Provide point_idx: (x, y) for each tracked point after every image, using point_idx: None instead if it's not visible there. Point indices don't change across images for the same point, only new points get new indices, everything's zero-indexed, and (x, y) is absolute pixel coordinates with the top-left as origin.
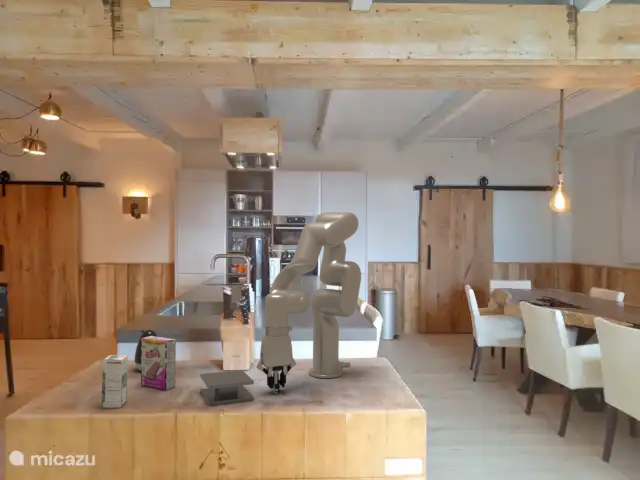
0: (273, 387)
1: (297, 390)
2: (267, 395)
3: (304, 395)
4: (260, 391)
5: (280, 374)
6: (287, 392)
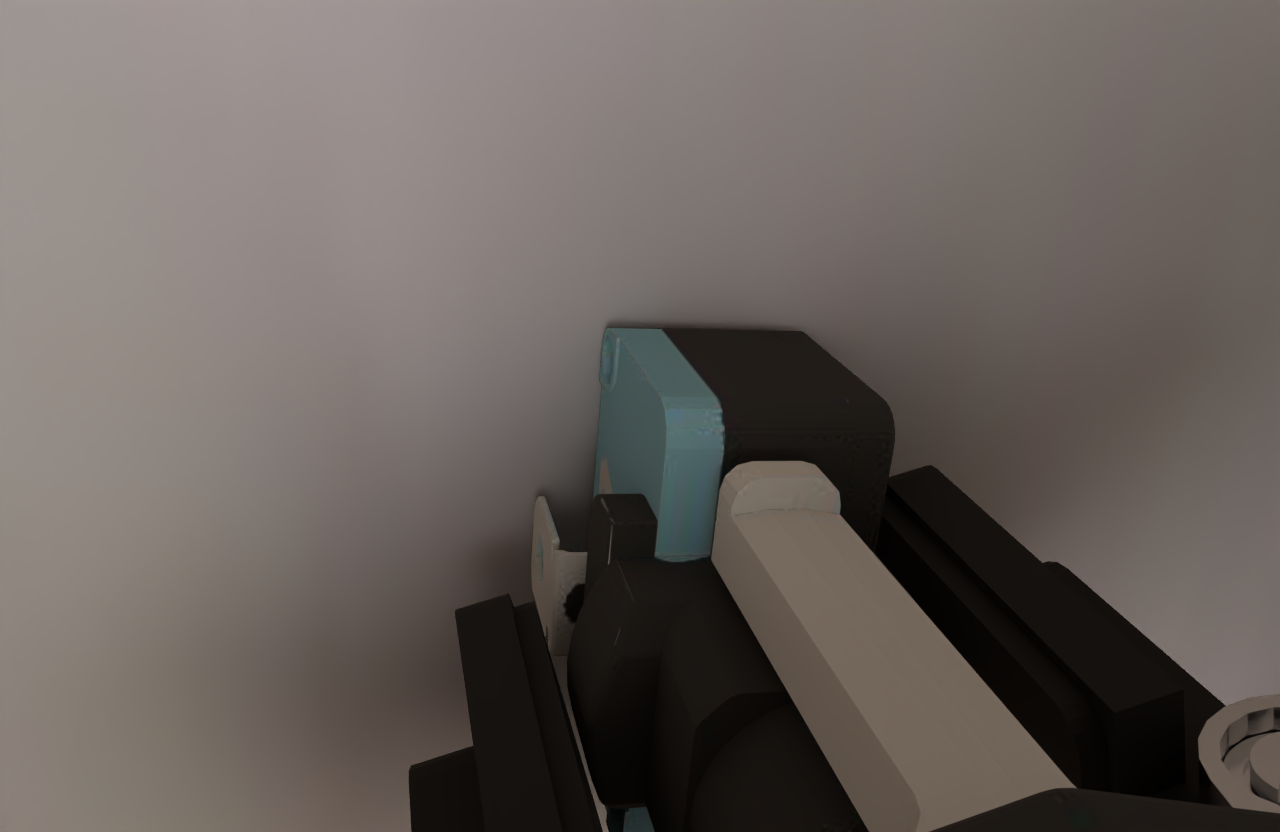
0: (616, 826)
1: (1230, 454)
2: (409, 821)
3: None
4: (182, 487)
5: (1073, 784)
6: None
